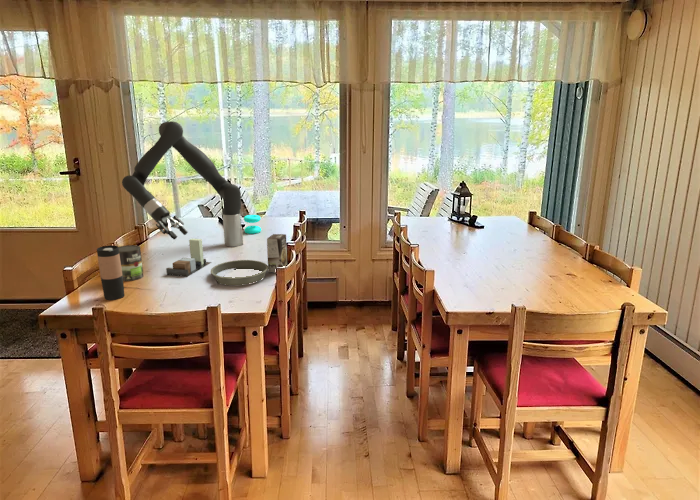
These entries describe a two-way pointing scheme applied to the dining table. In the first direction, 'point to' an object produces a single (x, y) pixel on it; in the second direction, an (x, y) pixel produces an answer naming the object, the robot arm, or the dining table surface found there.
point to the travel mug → (110, 272)
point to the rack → (184, 271)
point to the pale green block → (196, 250)
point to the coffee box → (276, 251)
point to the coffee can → (131, 262)
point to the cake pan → (239, 265)
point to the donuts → (252, 220)
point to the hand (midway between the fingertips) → (181, 236)
